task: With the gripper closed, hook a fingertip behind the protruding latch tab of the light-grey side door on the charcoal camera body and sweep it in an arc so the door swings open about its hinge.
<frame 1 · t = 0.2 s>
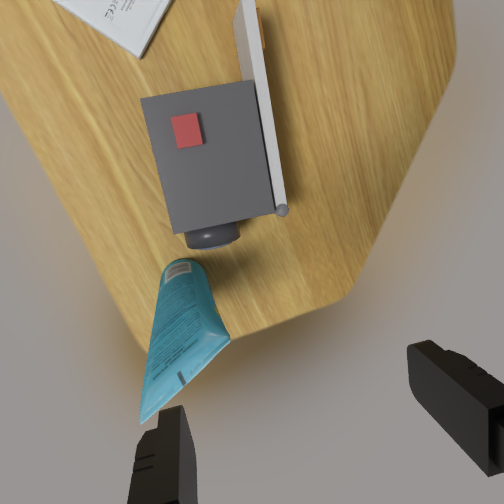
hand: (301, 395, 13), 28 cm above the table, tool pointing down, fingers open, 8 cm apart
tube: (185, 279, 41), on the table
camera body: (207, 158, 38), on the table
door: (262, 117, 34), point 4 cm above the table, hinge at 0.0°
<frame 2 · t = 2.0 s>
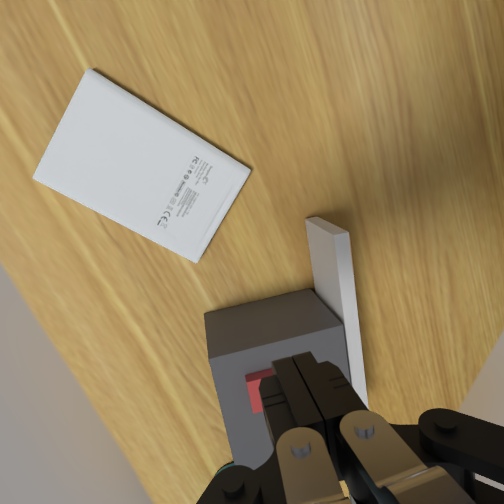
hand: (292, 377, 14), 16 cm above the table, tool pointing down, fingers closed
camera body: (268, 358, 32), on the table
external hard drive: (148, 173, 28), on the table
door: (341, 333, 29), point 4 cm above the table, hinge at 0.0°
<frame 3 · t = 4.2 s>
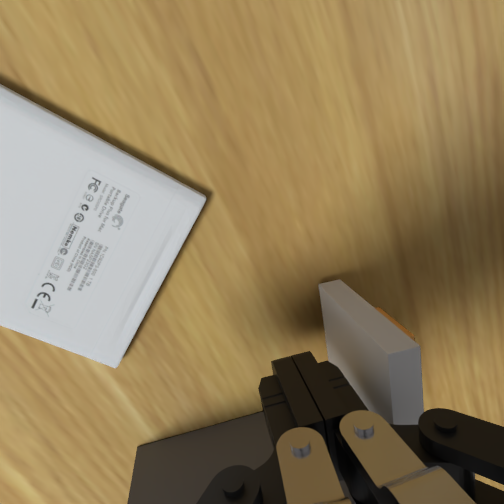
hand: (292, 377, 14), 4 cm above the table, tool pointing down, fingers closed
external hard drive: (18, 209, 15), on the table
door: (382, 492, 16), point 4 cm above the table, hinge at 1.4°, touching gripper
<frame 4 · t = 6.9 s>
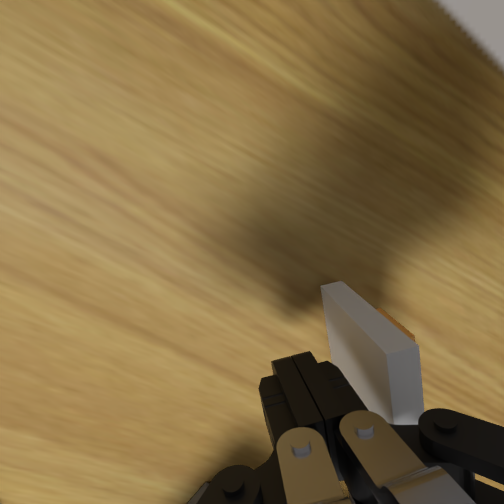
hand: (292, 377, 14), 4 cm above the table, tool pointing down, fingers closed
door: (388, 494, 16), point 4 cm above the table, hinge at 39.8°, touching gripper
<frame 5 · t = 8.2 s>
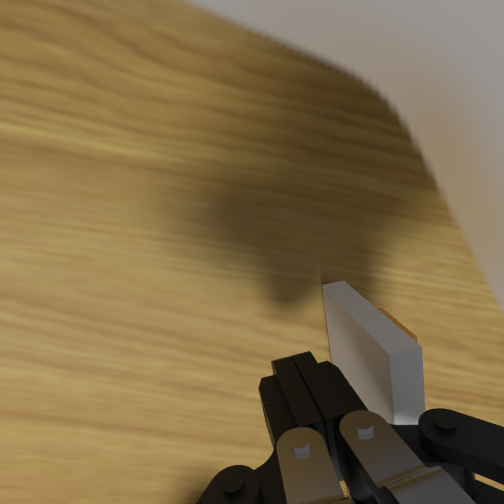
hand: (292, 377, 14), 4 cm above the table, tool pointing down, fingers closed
door: (385, 494, 16), point 4 cm above the table, hinge at 57.9°, touching gripper
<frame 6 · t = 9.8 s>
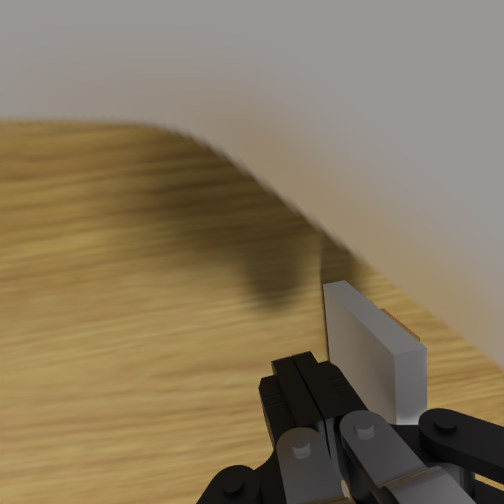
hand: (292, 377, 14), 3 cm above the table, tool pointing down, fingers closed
door: (380, 495, 16), point 4 cm above the table, hinge at 77.7°, touching gripper
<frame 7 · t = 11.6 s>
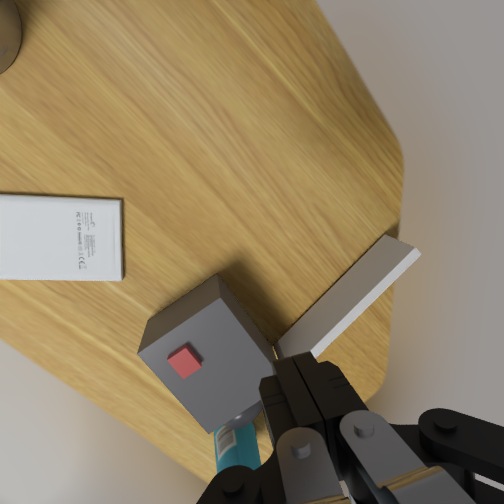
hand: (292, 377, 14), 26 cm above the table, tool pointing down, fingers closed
tube: (235, 428, 45), on the table
camera body: (212, 334, 41), on the table
external hard drive: (59, 236, 37), on the table
door: (341, 306, 39), point 4 cm above the table, hinge at 77.7°
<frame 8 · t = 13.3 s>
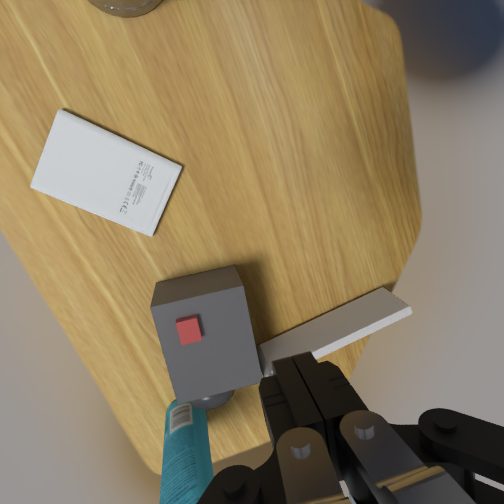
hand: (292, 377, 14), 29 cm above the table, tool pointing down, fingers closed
tube: (187, 411, 47), on the table
camera body: (206, 317, 44), on the table
external hard drive: (111, 175, 39), on the table
door: (329, 333, 43), point 3 cm above the table, hinge at 77.7°
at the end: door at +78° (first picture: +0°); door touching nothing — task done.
